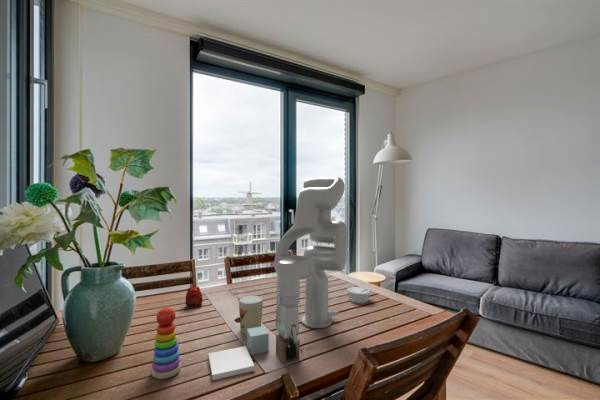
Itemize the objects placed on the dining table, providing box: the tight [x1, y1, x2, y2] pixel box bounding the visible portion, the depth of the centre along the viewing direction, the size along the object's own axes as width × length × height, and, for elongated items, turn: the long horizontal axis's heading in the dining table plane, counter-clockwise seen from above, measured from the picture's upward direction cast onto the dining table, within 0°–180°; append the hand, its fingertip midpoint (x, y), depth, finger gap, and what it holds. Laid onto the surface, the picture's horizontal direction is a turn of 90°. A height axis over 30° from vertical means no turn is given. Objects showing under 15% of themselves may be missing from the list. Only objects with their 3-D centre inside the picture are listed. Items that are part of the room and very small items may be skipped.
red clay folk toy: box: [185, 274, 204, 309], centre depth 135 cm, size 8×7×15 cm
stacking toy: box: [151, 307, 182, 380], centre depth 84 cm, size 8×8×19 cm
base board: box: [208, 345, 255, 381], centre depth 88 cm, size 12×12×2 cm
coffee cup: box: [238, 294, 264, 336], centre depth 111 cm, size 9×9×12 cm
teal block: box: [246, 325, 270, 355], centre depth 97 cm, size 6×6×6 cm
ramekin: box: [346, 286, 371, 304], centre depth 145 cm, size 11×11×5 cm
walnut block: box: [275, 333, 301, 363], centre depth 93 cm, size 6×6×6 cm
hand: (287, 352), depth 93 cm, fingers closed on walnut block, 5 cm apart
